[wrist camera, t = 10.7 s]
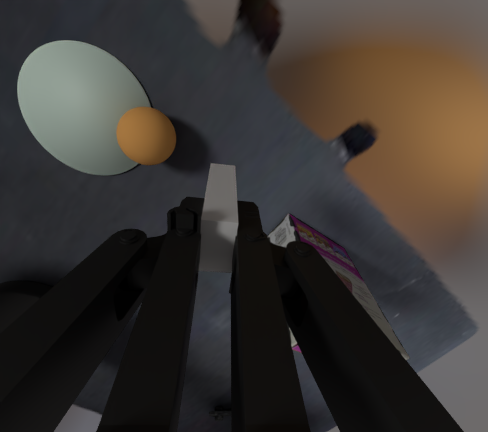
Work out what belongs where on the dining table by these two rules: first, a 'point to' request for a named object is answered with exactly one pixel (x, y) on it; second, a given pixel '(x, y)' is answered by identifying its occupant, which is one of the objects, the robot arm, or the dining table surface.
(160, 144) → the ball
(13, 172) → the dining table surface
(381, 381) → the robot arm
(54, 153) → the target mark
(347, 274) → the candy bar box
